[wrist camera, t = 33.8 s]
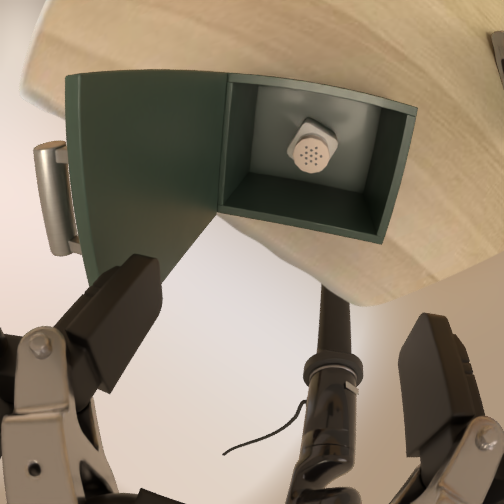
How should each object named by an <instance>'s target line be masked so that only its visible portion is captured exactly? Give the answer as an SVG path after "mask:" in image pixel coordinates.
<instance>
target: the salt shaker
mask: <svg viewBox="0 0 504 504" xmlns="http://www.w3.org/2000/svg"><path fill="white" fill-rule="evenodd" d="M337 147H338V140H337V137H336V134H335V133H334V131H332V130H331V129H329V128H328V127H326V126H324V125H323V124H321V123H319V122H318V121H316V120H315V119H313V118H310V117H307V118H306V119H304V121H303V123H302V124H301V126H300V128H299V129H298V131H297V132H296V134H295V136H294V137H293V139H292V141H291V143H290V144H289V146H288V148H287V154H288V155H289V157H290V158H292V159H293V160H294V162H295V164H296V165H297V166H298V167H299V168H300V169H301V170H302V171H305V172H308V173H315V172H320V171H322V170H323V169H324V168H325V167H326V166H327V164H328V161H329V160H330V158H331V157H332V155H333V154H334V152H335V151H336V149H337Z"/></svg>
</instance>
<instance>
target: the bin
mask: <svg viewBox="0 0 504 504" xmlns="http://www.w3.org/2000/svg"><path fill="white" fill-rule="evenodd" d="M417 110H418V108H417V107H414V106H411V105H407V104H404V103H400V102H397V101H394V100H390V99H386V98H383V97H379V96H375V95H371V94H367V93H363V92H358V91H354V90H349V89H345V88H340V87H335V86H330V85H325V84H319V83H313V82H307V81H301V80H294V79H287V78H279V77H271V76H262V75H252V74H240V73H227V81H226V91H225V102H224V114H223V126H222V138H221V152H220V166H219V181H218V197H217V212H218V213H224V214H230V215H235V216H241V217H246V218H252V219H257V220H263V221H268V222H273V223H279V224H284V225H289V226H294V227H299V228H304V229H310V230H315V231H320V232H324V233H329V234H334V235H339V236H344V237H349V238H354V239H358V240H363V241H368V242H372V243H377V244H382V243H383V240H384V237H385V234H386V231H387V228H388V225H389V222H390V218H391V215H392V212H393V208H394V205H395V201H396V198H397V194H398V191H399V187H400V184H401V180H402V176H403V172H404V168H405V164H406V160H407V156H408V152H409V148H410V143H411V139H412V134H413V130H414V125H415V120H416V115H417ZM307 117H310V118H313V119H315V120H316V121H318V122H319V123H321V124H323V125H324V126H326V127H328V128H329V129H331V130H332V131H334V133H335V134H336V137H337V140H338V147H337V149H336V151H335V152H334V154H333V155H332V157H331V158H330V160H329V161H328V164H327V166H326V167H325V168H324V169H323V170H322V171H320V172H315V173H308V172H305V171H302V170H301V169H300V168H299V167H298V166H297V165H296V164H295V162H294V160H293V159H292V158H290V157H289V155H288V154H287V148H288V146H289V144H290V143H291V141H292V139H293V137H294V136H295V134H296V132H297V131H298V129H299V128H300V126H301V124H302V123H303V121H304V119H306V118H307Z"/></svg>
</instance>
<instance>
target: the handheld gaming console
mask: <svg viewBox="0 0 504 504" xmlns="http://www.w3.org/2000/svg"><path fill="white" fill-rule="evenodd" d="M492 43H493V47H494V51H495V57H496V63H497V66H498V70H499V74H500V77H501V81H502V84H503V88H504V31H496V32H494V33H493V34H492Z"/></svg>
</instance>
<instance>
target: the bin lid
mask: <svg viewBox="0 0 504 504" xmlns="http://www.w3.org/2000/svg"><path fill="white" fill-rule="evenodd" d="M226 81H227V73H226V72H214V71H198V70H170V69H144V70H116V71H101V72H89V73H79V74H73V75H68V76H66V77H65V119H66V140H67V146H66V142H65V141H52V142H47V143H43V144H40V145H38V146H36V147H35V148H34V150H33V152H34V161H35V170H36V177H37V184H38V191H39V197H40V203H41V208H42V213H43V218H44V223H45V228H46V233H47V237H48V240H49V245H50V250H51V252H52V254H53V255H55V256H67V255H70V254H72V253H77V254H80V255H82V257H83V261H84V266H85V270H86V275H87V279H88V283H89V287H90V286H92V285H93V283H94V282H95V281H96V279H97V278H98V277H99V276H100V275H101V274H102V273H104V272H106V271H107V270H109V269H111V268H113V267H115V266H122V264H123V263H124V262H125V261H126V260H127V259H128V258H129V257H130V256H131V255H132V254H135V253H136V254H140V255H145V256H149V257H153V258H157V259H158V260H159V263H160V274H161V284H162V282H163V281H164V280H165V279H166V277H167V276H168V275H169V273H170V272H171V271H172V269H173V268H174V267H175V266H176V264H177V263H178V262H179V261H180V259H181V258H182V257H183V255H184V254H185V253H186V252H187V250H188V249H189V248H190V247H191V245H192V244H193V243H194V242H195V240H196V239H197V238H198V237H199V235H200V234H201V233H202V232H203V230H204V229H205V228H206V227H207V225H208V224H209V223H210V222H211V221H212V219H213V218H214V217H215V216H216V214H217V197H218V181H219V166H220V152H221V138H222V126H223V114H224V102H225V91H226ZM68 165H69V172H68ZM69 174H70V181H69ZM70 184H71V189H70ZM71 192H72V197H71ZM72 200H73V204H72ZM73 207H74V211H73ZM74 213H75V217H74ZM75 219H76V223H75ZM76 225H77V229H76ZM77 231H78V234H77Z"/></svg>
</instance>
